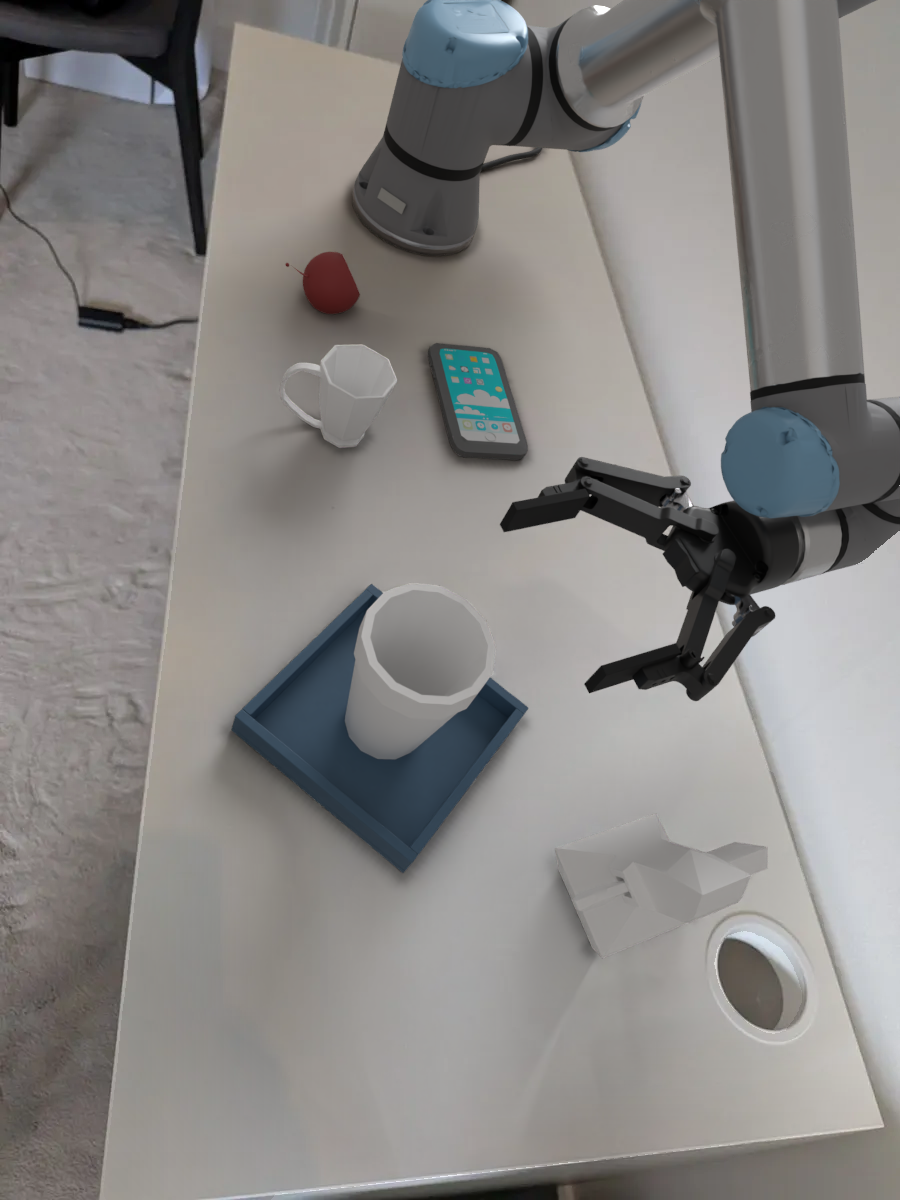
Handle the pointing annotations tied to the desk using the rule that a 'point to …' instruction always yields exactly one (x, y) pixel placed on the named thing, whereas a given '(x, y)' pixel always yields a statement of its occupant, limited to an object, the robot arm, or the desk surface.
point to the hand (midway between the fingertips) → (549, 595)
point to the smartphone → (477, 402)
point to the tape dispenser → (650, 882)
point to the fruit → (329, 283)
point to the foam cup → (415, 667)
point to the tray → (353, 778)
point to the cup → (346, 392)
